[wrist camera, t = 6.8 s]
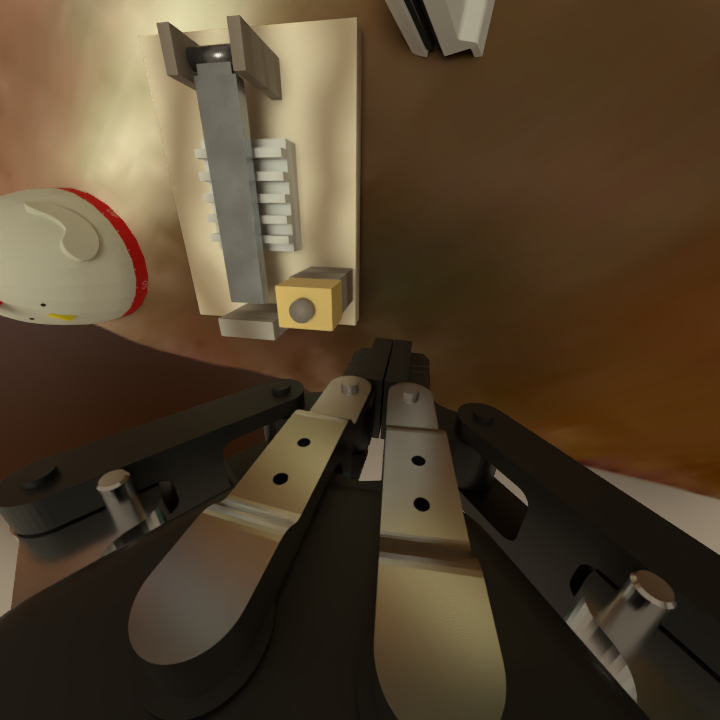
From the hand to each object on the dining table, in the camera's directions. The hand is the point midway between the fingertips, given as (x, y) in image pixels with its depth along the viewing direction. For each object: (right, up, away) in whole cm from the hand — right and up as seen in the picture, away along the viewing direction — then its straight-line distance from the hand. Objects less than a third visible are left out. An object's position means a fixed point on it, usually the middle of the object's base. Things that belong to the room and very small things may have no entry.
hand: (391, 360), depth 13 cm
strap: (-11, +13, +11) cm, 20 cm away
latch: (-5, +5, +11) cm, 13 cm away
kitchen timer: (-32, +12, +22) cm, 40 cm away
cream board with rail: (-10, +15, +16) cm, 24 cm away
